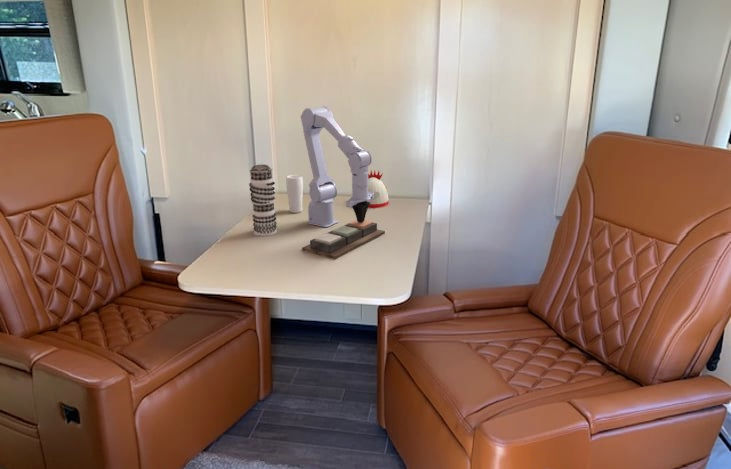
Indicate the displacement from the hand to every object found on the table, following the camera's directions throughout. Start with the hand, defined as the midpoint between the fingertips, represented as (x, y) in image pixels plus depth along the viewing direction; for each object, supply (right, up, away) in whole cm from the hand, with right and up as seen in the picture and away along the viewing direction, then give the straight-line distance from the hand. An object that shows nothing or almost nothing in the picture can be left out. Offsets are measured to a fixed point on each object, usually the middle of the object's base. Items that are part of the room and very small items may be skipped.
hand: (360, 221), depth 190 cm
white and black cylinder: (-36, -4, +5) cm, 36 cm away
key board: (-5, -7, -6) cm, 11 cm away
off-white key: (-11, -7, -14) cm, 19 cm away
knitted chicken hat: (+5, +9, +40) cm, 42 cm away
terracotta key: (0, -2, +1) cm, 2 cm away
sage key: (-5, -5, -7) cm, 10 cm away
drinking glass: (-27, +5, +29) cm, 40 cm away
